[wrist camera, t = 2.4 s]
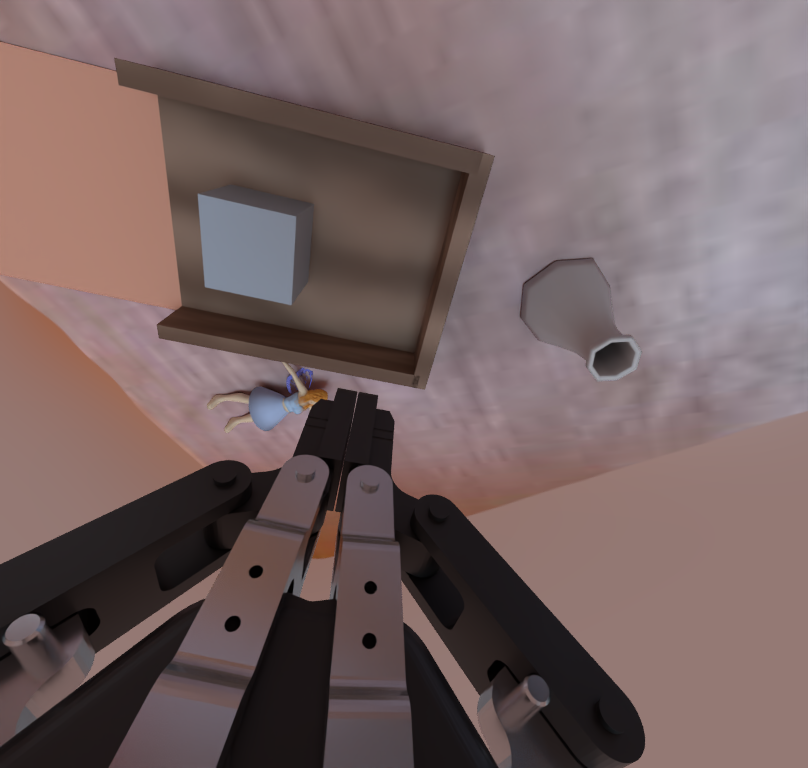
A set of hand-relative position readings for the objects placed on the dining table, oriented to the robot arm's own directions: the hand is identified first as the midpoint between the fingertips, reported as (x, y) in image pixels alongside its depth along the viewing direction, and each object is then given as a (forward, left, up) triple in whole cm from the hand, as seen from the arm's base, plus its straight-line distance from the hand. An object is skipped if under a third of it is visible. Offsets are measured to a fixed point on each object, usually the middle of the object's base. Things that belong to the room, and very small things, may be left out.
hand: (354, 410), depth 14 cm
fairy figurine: (+16, -8, -20) cm, 27 cm away
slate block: (0, -9, -19) cm, 21 cm away
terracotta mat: (0, -24, -20) cm, 31 cm away
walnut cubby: (0, -6, -20) cm, 20 cm away
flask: (0, +15, -20) cm, 25 cm away
